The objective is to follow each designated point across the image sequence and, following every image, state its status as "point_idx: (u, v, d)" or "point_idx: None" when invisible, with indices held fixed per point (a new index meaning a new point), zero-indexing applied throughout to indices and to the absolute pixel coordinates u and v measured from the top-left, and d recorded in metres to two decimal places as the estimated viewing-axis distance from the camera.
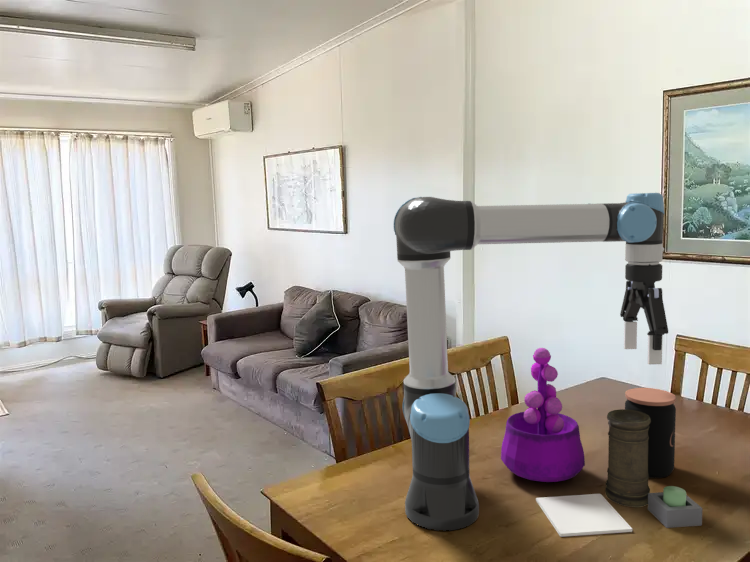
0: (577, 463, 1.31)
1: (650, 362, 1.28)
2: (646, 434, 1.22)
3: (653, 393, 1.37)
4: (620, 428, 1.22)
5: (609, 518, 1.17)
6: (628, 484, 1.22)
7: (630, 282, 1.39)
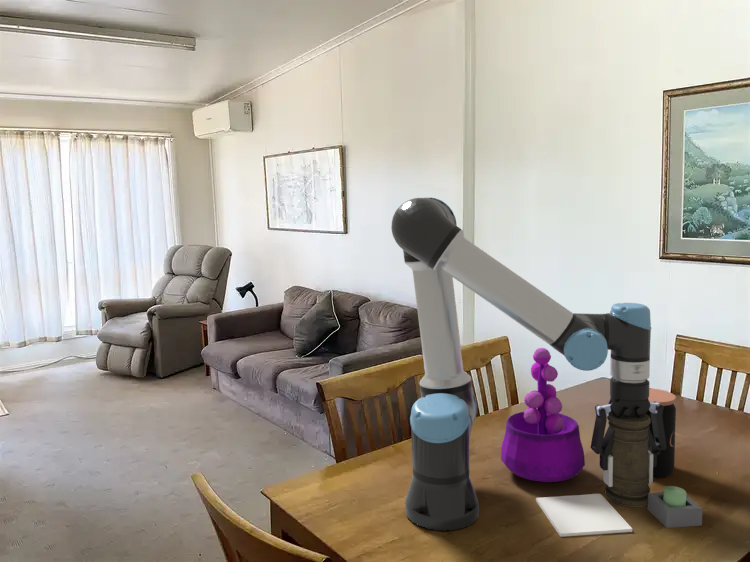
0: (577, 463, 1.31)
1: (603, 479, 1.27)
2: (646, 434, 1.22)
3: (653, 393, 1.37)
4: (620, 428, 1.22)
5: (609, 518, 1.17)
6: (628, 484, 1.22)
7: (654, 403, 1.25)
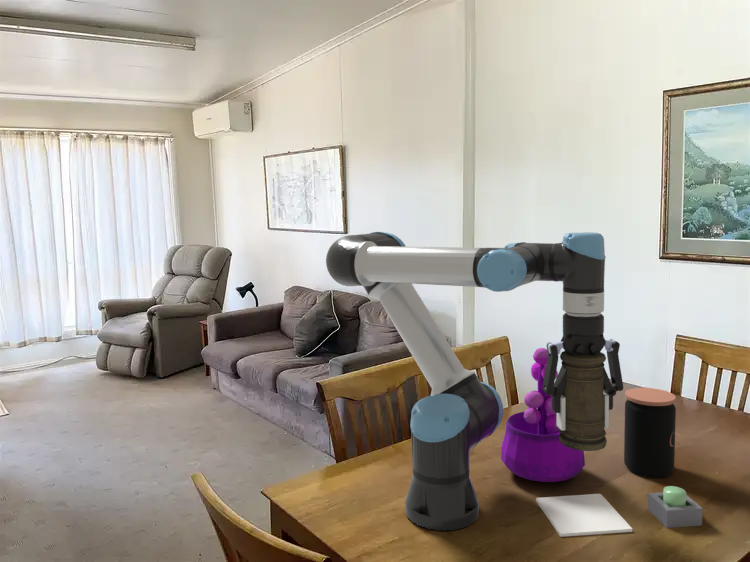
0: (577, 463, 1.31)
1: (557, 423, 1.18)
2: (601, 372, 1.13)
3: (653, 393, 1.37)
4: (573, 366, 1.13)
5: (609, 518, 1.17)
6: (581, 426, 1.13)
7: (610, 340, 1.16)
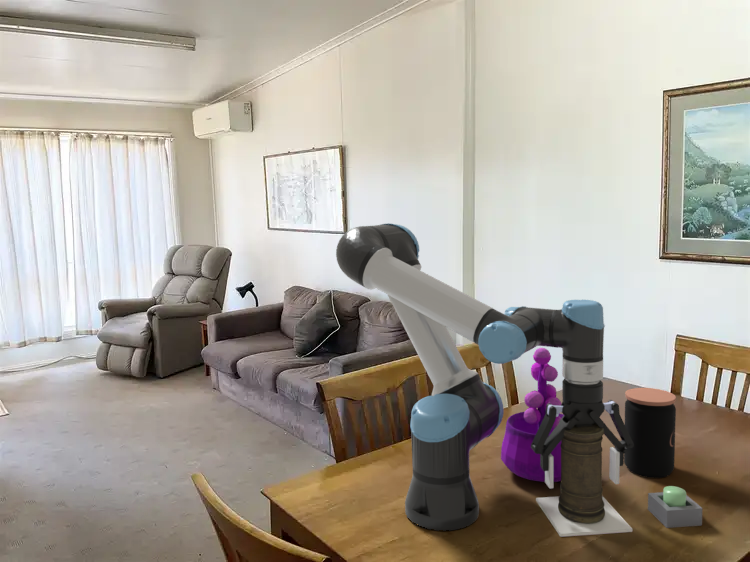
0: None
1: (545, 480, 1.19)
2: (599, 446, 1.15)
3: (653, 393, 1.37)
4: (572, 440, 1.15)
5: (609, 518, 1.17)
6: (580, 499, 1.15)
7: (609, 402, 1.18)
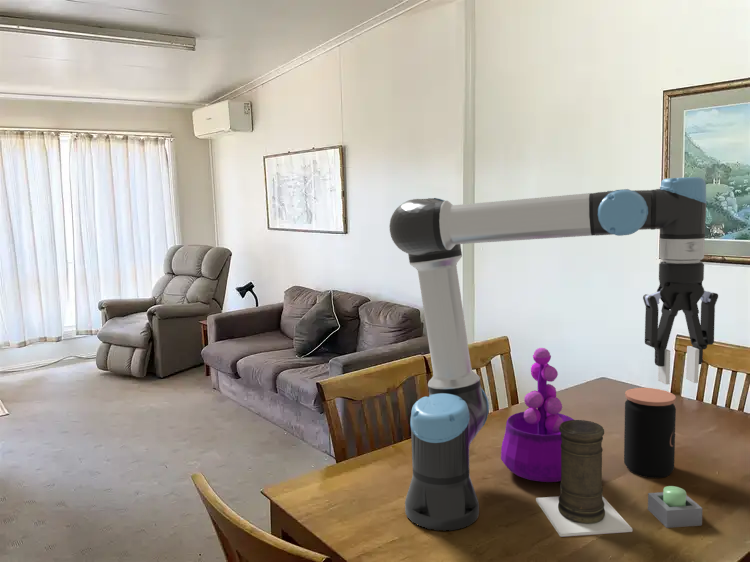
0: None
1: (659, 378, 1.15)
2: (599, 446, 1.15)
3: (653, 393, 1.37)
4: (572, 441, 1.15)
5: (609, 518, 1.17)
6: (580, 499, 1.15)
7: None
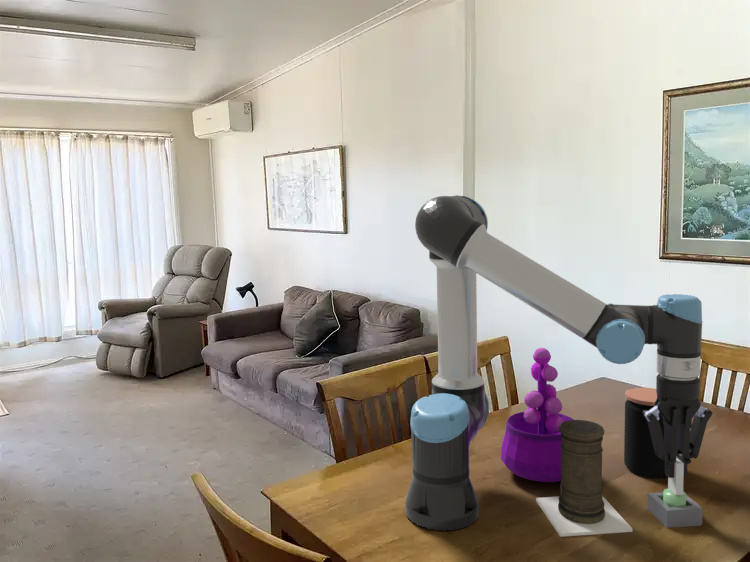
0: None
1: (668, 487, 1.18)
2: (599, 446, 1.15)
3: (653, 393, 1.37)
4: (572, 441, 1.15)
5: (609, 518, 1.17)
6: (580, 499, 1.15)
7: None
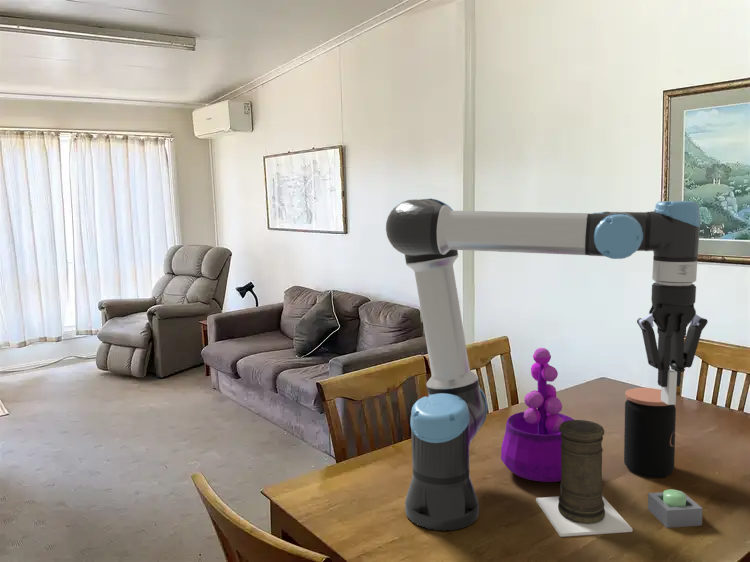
0: None
1: (661, 398, 1.17)
2: (599, 446, 1.15)
3: (653, 393, 1.37)
4: (572, 441, 1.15)
5: (609, 518, 1.17)
6: (580, 499, 1.15)
7: None
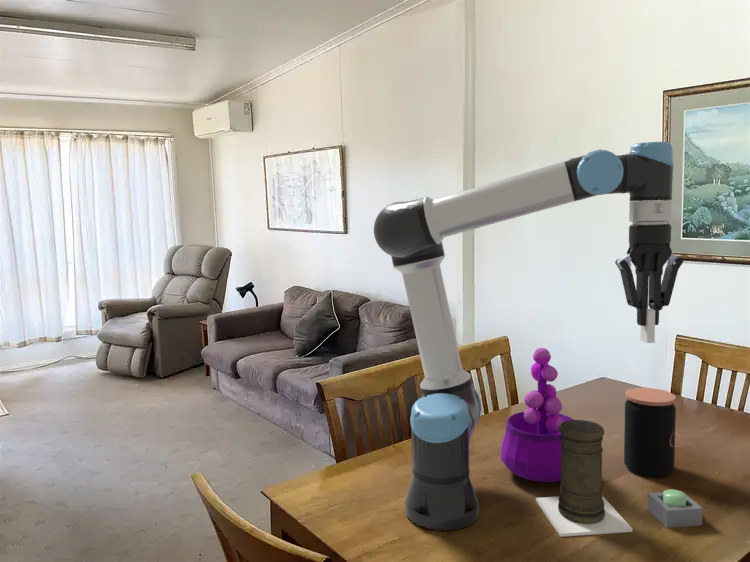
0: None
1: (641, 338, 1.20)
2: (599, 446, 1.15)
3: (653, 393, 1.37)
4: (572, 441, 1.15)
5: (609, 518, 1.17)
6: (580, 499, 1.15)
7: None
